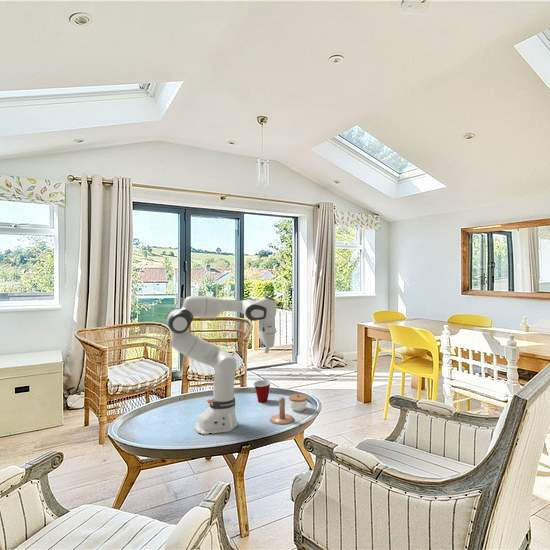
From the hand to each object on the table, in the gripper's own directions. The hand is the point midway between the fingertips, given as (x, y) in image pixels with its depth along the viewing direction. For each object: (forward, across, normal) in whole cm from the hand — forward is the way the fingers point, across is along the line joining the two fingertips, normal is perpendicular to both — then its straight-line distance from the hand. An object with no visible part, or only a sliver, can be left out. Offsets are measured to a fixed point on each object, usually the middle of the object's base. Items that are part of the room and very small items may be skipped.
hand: (264, 349), depth 206 cm
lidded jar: (+36, +1, +24) cm, 43 cm away
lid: (+35, +12, +11) cm, 39 cm away
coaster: (+35, +13, +11) cm, 39 cm away
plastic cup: (+40, -19, +8) cm, 45 cm away
